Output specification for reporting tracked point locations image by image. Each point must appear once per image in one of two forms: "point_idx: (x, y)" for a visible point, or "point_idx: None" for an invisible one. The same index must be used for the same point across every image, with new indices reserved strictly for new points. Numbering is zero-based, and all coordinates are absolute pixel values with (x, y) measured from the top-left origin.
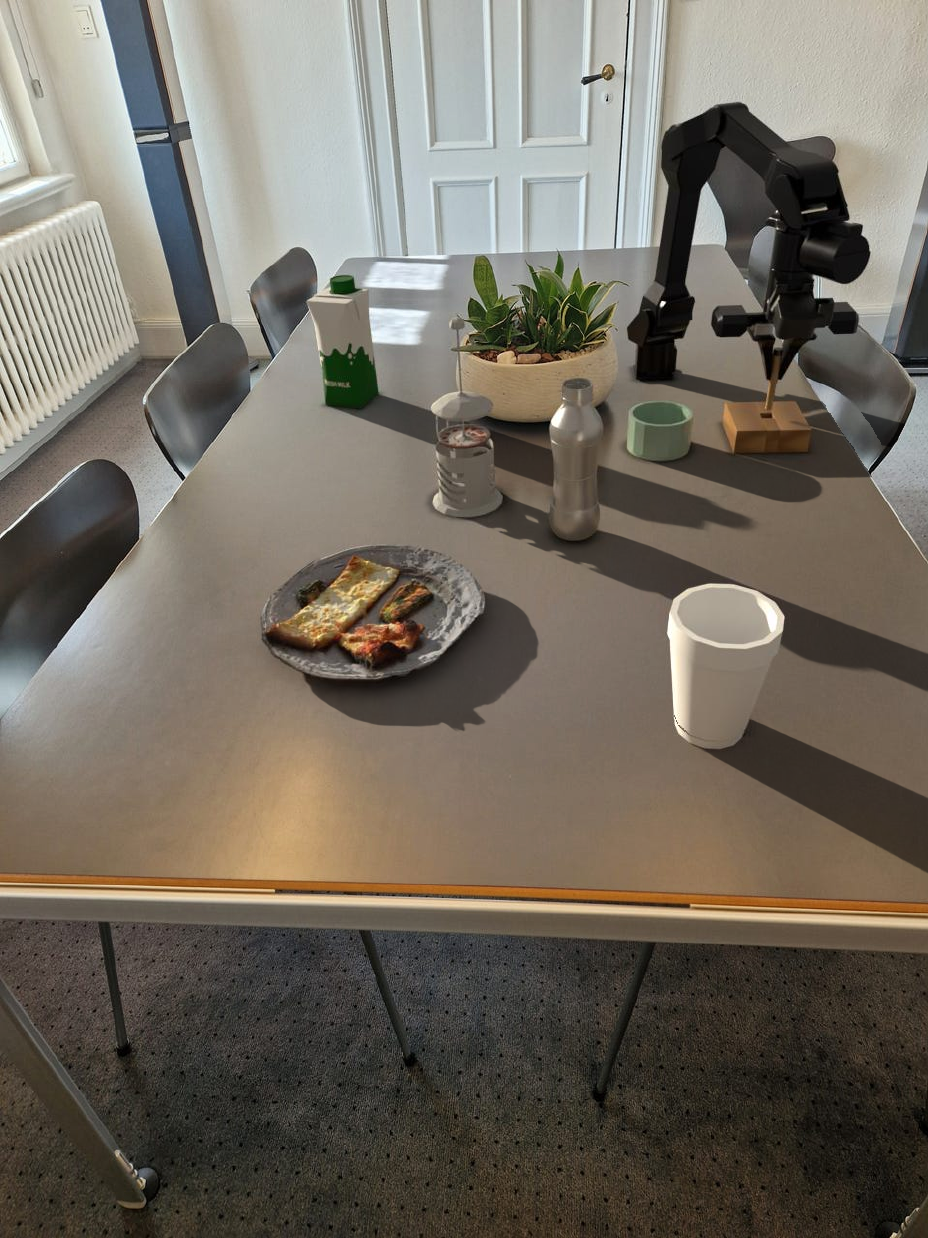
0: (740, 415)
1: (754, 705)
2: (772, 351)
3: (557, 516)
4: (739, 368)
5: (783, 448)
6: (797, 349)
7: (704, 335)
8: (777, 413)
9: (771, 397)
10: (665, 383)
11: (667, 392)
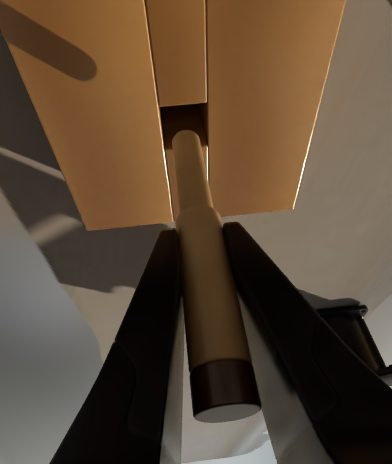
0: (281, 122)
1: None
2: (302, 390)
3: None
4: (186, 344)
5: None
6: (83, 433)
7: None
8: (144, 146)
9: (189, 163)
10: (321, 301)
11: (333, 278)
